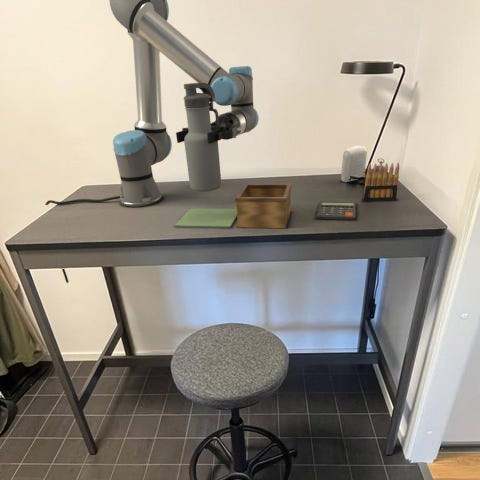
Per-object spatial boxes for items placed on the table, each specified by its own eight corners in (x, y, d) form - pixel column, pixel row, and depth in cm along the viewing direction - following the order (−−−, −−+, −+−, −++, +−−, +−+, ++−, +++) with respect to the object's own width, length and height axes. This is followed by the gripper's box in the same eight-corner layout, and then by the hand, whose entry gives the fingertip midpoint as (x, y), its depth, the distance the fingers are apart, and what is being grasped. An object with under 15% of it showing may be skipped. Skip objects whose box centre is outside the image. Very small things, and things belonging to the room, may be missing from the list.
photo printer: (357, 176, 160) (360, 143, 153) (365, 178, 157) (369, 144, 150) (339, 181, 156) (341, 147, 149) (347, 183, 153) (350, 149, 146)
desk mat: (174, 227, 124) (174, 225, 124) (190, 210, 137) (189, 208, 137) (230, 228, 120) (230, 226, 120) (240, 210, 133) (240, 208, 133)
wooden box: (237, 227, 120) (235, 198, 115) (246, 211, 133) (244, 183, 128) (286, 228, 117) (286, 198, 112) (291, 211, 130) (291, 183, 125)
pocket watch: (391, 182, 150) (395, 154, 145) (393, 188, 144) (397, 159, 138) (368, 182, 152) (372, 154, 147) (369, 188, 146) (373, 159, 140)
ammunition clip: (363, 201, 134) (367, 164, 127) (362, 199, 135) (366, 163, 129) (396, 200, 133) (402, 163, 126) (394, 198, 134) (400, 161, 127)
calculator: (316, 215, 122) (320, 200, 134) (316, 218, 122) (319, 203, 134) (355, 216, 119) (355, 201, 131) (355, 219, 120) (355, 204, 132)
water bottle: (208, 181, 129) (198, 81, 113) (229, 186, 123) (221, 81, 107) (184, 189, 123) (169, 84, 108) (204, 194, 117) (192, 85, 102)
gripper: (261, 138, 125) (228, 153, 109) (201, 137, 134) (163, 151, 118) (260, 112, 121) (226, 123, 105) (199, 112, 130) (158, 123, 114)
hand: (192, 138), depth 112 cm, fingers closed on water bottle, 10 cm apart
